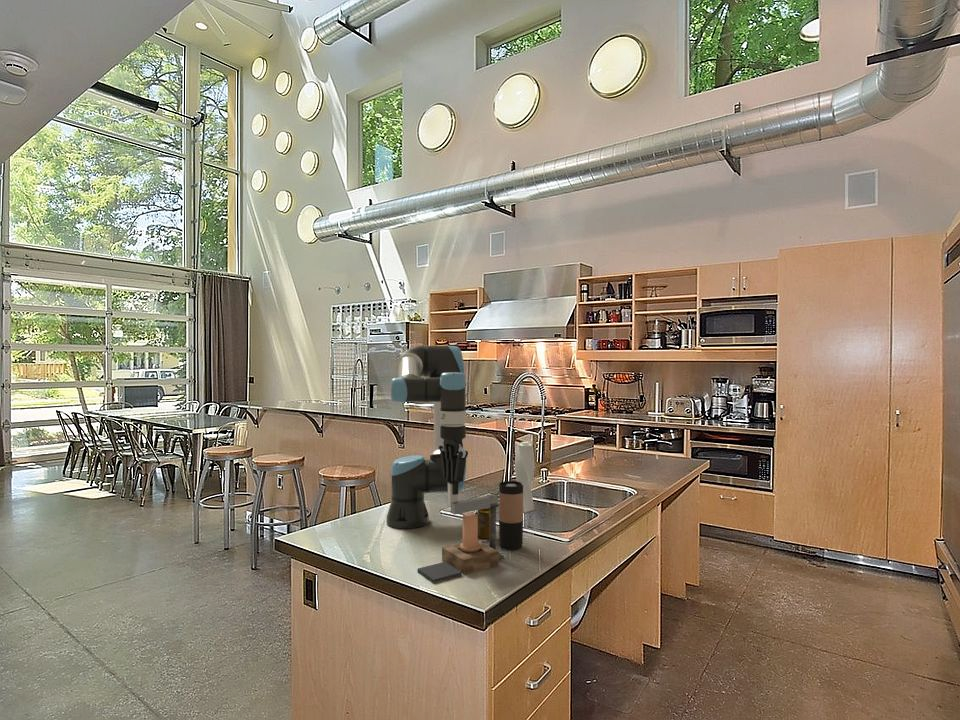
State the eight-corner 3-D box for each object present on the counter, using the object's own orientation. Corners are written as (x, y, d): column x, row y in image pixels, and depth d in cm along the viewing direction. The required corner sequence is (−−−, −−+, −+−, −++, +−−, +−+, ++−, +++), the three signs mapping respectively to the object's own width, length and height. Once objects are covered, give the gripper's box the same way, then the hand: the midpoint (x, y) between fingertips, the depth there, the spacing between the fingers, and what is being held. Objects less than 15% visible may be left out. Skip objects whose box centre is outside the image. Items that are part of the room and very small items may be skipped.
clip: (449, 512, 165) (449, 501, 165) (494, 503, 174) (494, 493, 174) (456, 515, 162) (456, 504, 162) (501, 506, 171) (501, 496, 171)
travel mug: (494, 547, 180) (494, 484, 179) (506, 540, 186) (507, 479, 186) (515, 552, 176) (515, 488, 175) (527, 545, 182) (527, 483, 181)
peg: (456, 561, 168) (456, 514, 168) (473, 557, 172) (473, 511, 171) (467, 568, 163) (467, 519, 163) (484, 563, 167) (484, 516, 166)
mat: (417, 572, 161) (417, 568, 161) (445, 565, 166) (445, 561, 166) (433, 583, 153) (433, 579, 153) (461, 575, 158) (461, 572, 158)
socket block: (442, 560, 169) (442, 509, 169) (487, 549, 178) (488, 500, 178) (463, 574, 159) (463, 519, 159) (511, 561, 168) (511, 510, 168)
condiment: (501, 538, 189) (501, 502, 189) (479, 542, 184) (479, 506, 184) (488, 532, 195) (488, 497, 195) (467, 536, 190) (467, 500, 190)
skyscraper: (540, 510, 219) (540, 438, 219) (526, 515, 214) (526, 440, 213) (523, 506, 226) (524, 435, 225) (509, 510, 220) (510, 437, 219)
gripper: (431, 423, 172) (431, 501, 172) (453, 428, 161) (453, 511, 161) (452, 421, 176) (452, 497, 176) (475, 426, 165) (475, 507, 166)
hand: (452, 504), depth 169 cm, fingers closed
